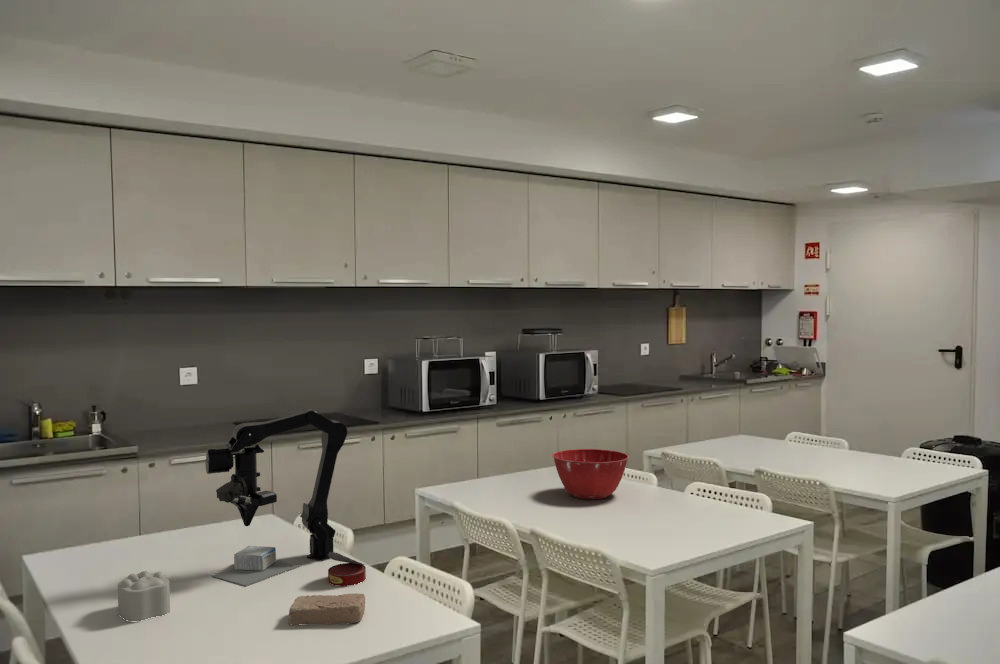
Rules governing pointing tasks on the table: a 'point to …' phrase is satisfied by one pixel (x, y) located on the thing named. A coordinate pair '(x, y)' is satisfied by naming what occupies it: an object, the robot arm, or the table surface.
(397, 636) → the table surface
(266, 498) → the robot arm
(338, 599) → the brick
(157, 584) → the lumpy-topped squat cylinder
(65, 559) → the table surface
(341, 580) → the canned food
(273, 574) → the mat
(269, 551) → the medicine box
